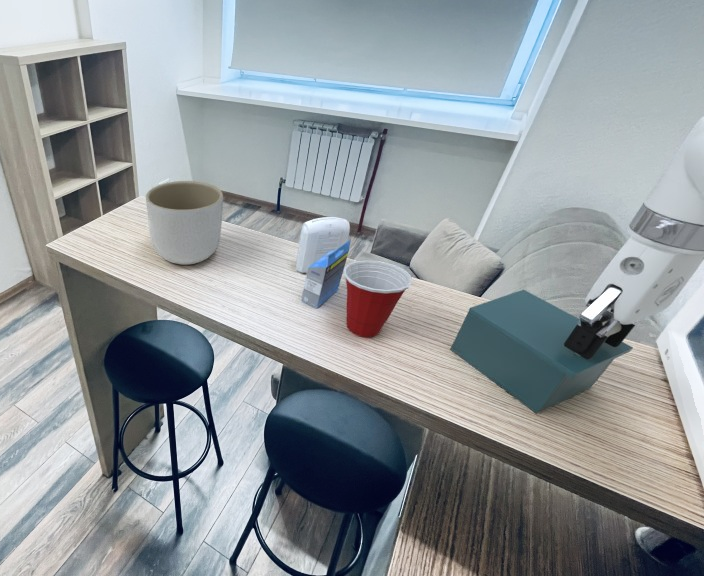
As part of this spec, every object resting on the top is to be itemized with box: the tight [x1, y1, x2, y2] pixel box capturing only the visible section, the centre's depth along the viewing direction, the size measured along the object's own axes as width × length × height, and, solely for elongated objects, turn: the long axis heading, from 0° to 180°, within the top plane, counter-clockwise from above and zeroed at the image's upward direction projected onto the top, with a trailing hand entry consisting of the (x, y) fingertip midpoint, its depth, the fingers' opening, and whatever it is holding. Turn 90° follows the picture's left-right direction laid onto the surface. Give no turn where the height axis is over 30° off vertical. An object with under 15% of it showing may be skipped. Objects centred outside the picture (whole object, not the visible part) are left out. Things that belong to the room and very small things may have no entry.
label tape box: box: [301, 238, 352, 309], centre depth 80 cm, size 9×4×12 cm, turn 136°
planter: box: [145, 180, 224, 266], centre depth 94 cm, size 17×17×15 cm
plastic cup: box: [343, 259, 413, 339], centre depth 72 cm, size 11×11×12 cm
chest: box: [450, 312, 615, 414], centre depth 64 cm, size 15×13×8 cm
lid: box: [467, 289, 634, 378], centre depth 60 cm, size 15×13×5 cm
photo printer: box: [295, 216, 351, 274], centre depth 88 cm, size 10×4×12 cm, turn 98°
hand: (590, 345), depth 56 cm, fingers closed on lid, 5 cm apart
